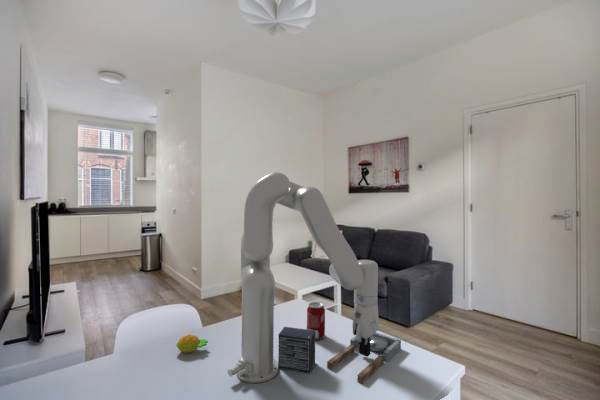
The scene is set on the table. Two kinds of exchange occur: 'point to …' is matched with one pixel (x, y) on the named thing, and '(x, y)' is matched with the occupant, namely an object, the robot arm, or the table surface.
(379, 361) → the walnut slot
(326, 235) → the robot arm
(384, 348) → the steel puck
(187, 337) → the toy pineapple
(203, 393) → the table surface
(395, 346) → the grey u-shaped frame
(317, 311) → the soda can
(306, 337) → the small box
